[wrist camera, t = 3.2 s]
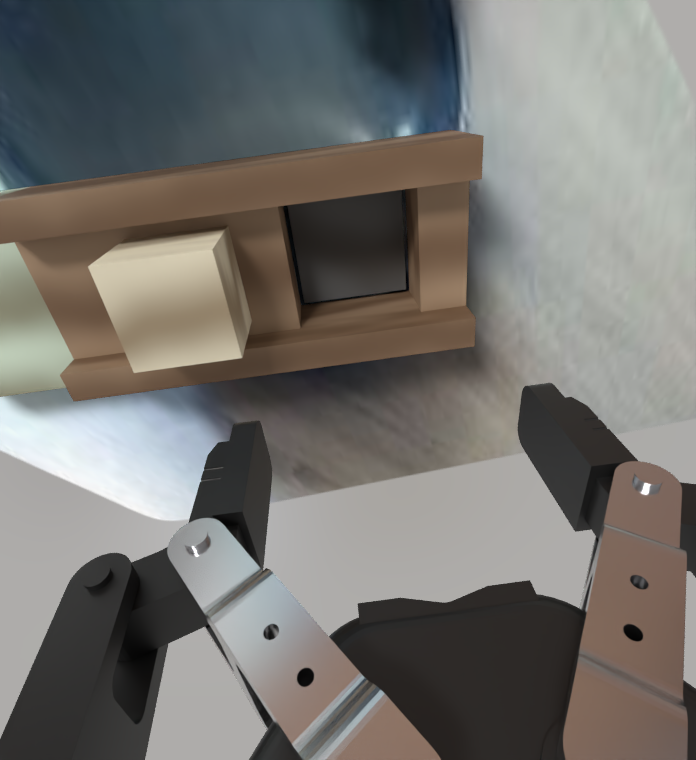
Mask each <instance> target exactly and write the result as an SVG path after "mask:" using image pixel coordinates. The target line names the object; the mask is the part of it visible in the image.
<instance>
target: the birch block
mask: <svg viewBox="0 0 696 760" xmlns="http://www.w3.org/2000/svg"><path fill="white" fill-rule="evenodd" d="M88 268H89V270H90V273H91V275H92V277H93V280H94V282H95V284H96V287H97V289H98V291H99V293H100V296H101V298H102V300H103V303H104V305H105V307H106V310H107V312H108V314H109V317H110V319H111V321H112V323H113V326H114V328H115V330H116V333H117V335H118V337H119V340H120V342H121V344H122V347H123V349H124V351H125V353H126V356H127V358H128V360H129V363H130V365H131V367H132V370H133V372H134V373H138V372H145V371H152V370H159V369H167V368H174V367H181V366H188V365H196V364H203V363H210V362H218V361H225V360H232V359H239V358H242V357H243V353H244V349H245V345H246V341H247V338H248V334H249V330H250V326H251V322H252V319H251V315H250V311H249V307H248V303H247V299H246V295H245V291H244V287H243V283H242V279H241V275H240V271H239V267H238V263H237V259H236V255H235V251H234V247H233V243H232V239H231V235H230V231H229V227H228V226H221V227H213V228H206V229H199V230H191V231H184V232H177V233H169V234H162V235H154V236H147V237H140V238H132V239H125V240H123V241H122V242H120V243H119V244H118V245H116V246H115V247H114V248H112V249H111V250H110V251H108V252H107V253H105V254H104V255H103V256H101V257H100V258H99V259H97V260H96V261H95V262H93V263H92V264H91V265H89V266H88Z"/></svg>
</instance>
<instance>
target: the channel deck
mask: <svg viewBox="0 0 696 760" xmlns="http://www.w3.org/2000/svg"><path fill="white" fill-rule="evenodd" d="M482 157H483V136H481V135H476V134H470V133H465V132H459V131H454V130H447V131H440V132H432V133H425V134H417V135H410V136H403V137H395V138H388V139H380V140H373V141H366V142H358V143H351V144H343V145H336V146H329V147H321V148H314V149H306V150H299V151H292V152H284V153H277V154H269V155H262V156H255V157H247V158H240V159H232V160H225V161H218V162H210V163H203V164H195V165H188V166H181V167H173V168H166V169H158V170H151V171H144V172H136V173H129V174H121V175H114V176H107V177H99V178H92V179H84V180H77V181H70V182H62V183H55V184H47V185H40V186H33V187H25V188H18V189H11V190H3V191H0V397H2V396H9V395H17V394H24V393H31V392H38V391H46V390H53V389H60V388H67V390H68V392H69V394H70V395H71V397H72V399H73V401H81V400H88V399H96V398H103V397H110V396H117V395H125V394H132V393H139V392H146V391H154V390H161V389H168V388H175V387H183V386H190V385H197V384H204V383H212V382H219V381H226V380H233V379H241V378H248V377H255V376H263V375H270V374H277V373H284V372H292V371H299V370H306V369H313V368H321V367H328V366H335V365H342V364H350V363H357V362H364V361H371V360H379V359H386V358H393V357H400V356H408V355H415V354H422V353H430V352H437V351H444V350H451V349H459V348H466V347H473V346H475V322H476V318H475V316H474V315H473V314H472V313H471V311H470V310H469V309H468V308H467V306H466V288H467V254H468V220H469V186H470V180H477V179H482ZM404 189H405V203H406V227H407V250H408V274H409V290H408V291H400V292H393V293H386V294H378V295H371V296H364V297H356V298H349V299H342V300H335V301H327V302H320V303H313V304H305V305H301V301H300V295H299V290H298V284H297V279H296V273H295V268H294V262H293V257H292V251H291V246H290V240H289V235H288V229H287V224H286V218H285V213H284V207H283V206H286V205H287V207H288V212H289V218H290V223H291V229H292V235H293V240H294V246H295V252H296V257H297V263H298V269H299V274H300V280H301V286H302V291H303V297H304V303H310V302H318V301H325V300H332V299H339V298H347V297H354V296H361V295H369V294H376V293H383V292H391V291H398V290H405V289H406V273H405V251H404V230H403V208H402V190H404ZM221 226H228V227H229V231H230V235H231V239H232V243H233V247H234V251H235V255H236V259H237V263H238V267H239V271H240V275H241V279H242V283H243V287H244V291H245V295H246V299H247V303H248V307H249V311H250V315H251V319H252V322H251V326H250V330H249V334H248V338H247V341H246V345H245V349H244V353H243V357H242V358H239V359H232V360H225V361H218V362H210V363H203V364H196V365H188V366H181V367H174V368H167V369H159V370H152V371H145V372H138V373H134V372H133V370H132V367H131V365H130V363H129V360H128V358H127V356H126V353H125V351H124V349H123V347H122V344H121V342H120V340H119V337H118V335H117V333H116V330H115V328H114V326H113V323H112V321H111V319H110V317H109V314H108V312H107V310H106V307H105V305H104V303H103V300H102V298H101V296H100V293H99V291H98V289H97V287H96V284H95V282H94V280H93V277H92V275H91V273H90V270H89V268H88V266H89V265H91V264H92V263H93V262H95V261H96V260H97V259H99V258H100V257H101V256H103V255H104V254H105V253H107V252H108V251H110V250H111V249H112V248H114V247H115V246H116V245H118V244H119V243H120V242H122V241H123V240H125V239H132V238H140V237H147V236H154V235H162V234H169V233H177V232H184V231H191V230H199V229H206V228H213V227H221Z"/></svg>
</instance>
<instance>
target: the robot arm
mask: <svg viewBox="0 0 696 760" xmlns="http://www.w3.org/2000/svg"><path fill="white" fill-rule="evenodd" d="M518 436H519V440H520V443H521V445H522V447H523V449H524V450H525V452H526V454H527V455H528V457H529V458H530V460H531V461H532V463H533V465H534V466H535V468H536V470H537V471H538V473H539V474H540V476H541V477H542V479H543V481H544V482H545V484H546V485H547V487H548V489H549V490H550V492H551V493H552V495H553V497H554V498H555V500H556V501H557V503H558V505H559V506H560V508H561V509H562V511H563V513H564V514H565V516H566V518H567V519H568V520H569V522H570V524H571V526H572V527H573V529H574V530H575V531H583V530H590V529H592V531H593V532H594V534H595V535H596V538H595V542H594V545H593V550H592V554H591V559H590V563H589V568H588V572H587V577H586V581H585V586H584V591H583V595H582V599H581V603H580V607H579V608H577V607H575V606H573V605H571V604H569V603H567V602H564V601H561V600H558V599H555V598H552V597H548V596H544V595H537V594H536V593H535V590H534V588H533V586H532V584H531V582H530V581H522V582H515V583H507V584H499V585H492V586H487V587H485V588H482V589H480V590H477V591H475V592H473V593H470V594H468V595H465V596H463V597H461V598H458V599H456V600H454V601H451V602H447V603H440V602H431V601H423V600H414V599H405V598H396V599H389V600H381V601H373V602H366V603H359V604H358V611H359V618H356V619H354V620H352V621H350V622H348V623H347V624H345V625H343V626H341V627H340V628H339V629H337V630H336V631H335V632H334V633H332V634H331V635H330V636H328V635H327V634H326V633H325V632H324V631H323V630H322V628H321V627H320V626H319V625H318V624H317V622H316V621H315V620H314V619H313V618H312V617H311V616H310V614H309V613H308V612H307V611H306V610H305V609H304V607H303V606H302V605H301V604H300V603H299V602H298V601H297V600H296V598H295V597H294V596H293V595H292V594H291V593H290V591H289V590H288V589H287V588H286V587H285V586H284V585H283V583H282V582H281V581H280V580H279V579H278V578H277V577H276V575H275V574H274V573H273V572H272V571H271V570H269V569H267V568H266V569H265V570H264V571H263V565H264V555H265V544H266V534H267V523H268V514H269V504H270V493H271V483H272V467H271V461H270V456H269V452H268V449H267V445H266V441H265V437H264V434H263V430H262V426H261V423H260V421H251V422H243V423H236V424H234V425H233V428H232V432H231V437H230V441H227V442H219V443H217V445H216V446H215V447H214V448H213V450H212V451H211V452H210V453H209V454H208V457H207V460H206V464H205V467H204V471H203V474H202V478H201V482H200V485H199V488H198V492H197V495H196V499H195V502H194V506H193V509H192V513H191V516H190V520H189V523H188V524H186V525H184V526H183V527H181V528H180V529H179V530H178V531H177V532H176V533H175V534H174V535H173V537H172V538H171V540H170V542H169V545H168V547H167V548H165V549H163V550H161V551H159V552H157V553H154V554H152V555H149V556H147V557H144V558H142V559H140V560H137V561H134V562H132V563H131V562H130V560H129V558H128V557H127V556H125V555H123V554H119V553H109V554H105V555H102V556H99V557H97V558H95V559H93V560H91V561H90V562H88V563H87V564H85V565H84V566H83V567H81V568H80V569H79V570H78V571H77V573H75V575H74V576H73V577H72V579H71V580H70V582H69V584H68V586H67V588H66V590H65V592H64V595H63V597H62V599H61V602H60V604H59V606H58V608H57V611H56V613H55V615H54V618H53V620H52V622H51V624H50V627H49V629H48V631H47V634H46V636H45V638H44V640H43V643H42V645H41V647H40V650H39V652H38V654H37V656H36V659H35V661H34V663H33V665H32V668H31V670H30V672H29V675H28V677H27V680H26V682H25V684H24V686H23V688H22V691H21V693H20V695H19V697H18V700H17V702H16V705H15V707H14V709H13V711H12V714H11V716H10V718H9V720H8V723H7V725H6V727H5V730H4V732H3V734H2V736H1V739H0V760H145V756H146V752H147V747H148V741H149V736H150V731H151V727H152V722H153V717H154V712H155V707H156V702H157V697H158V692H159V687H160V682H161V677H162V672H163V667H164V662H165V657H166V652H167V648H168V643H170V642H172V641H175V640H177V639H179V638H181V637H183V636H185V635H188V634H190V633H192V632H194V631H196V630H198V629H200V628H202V627H204V628H205V629H206V631H207V632H208V634H209V636H210V637H211V639H212V641H213V642H214V643H215V645H216V647H217V649H218V650H219V652H220V653H221V655H222V657H223V658H224V660H225V661H226V663H227V665H228V666H229V668H230V669H231V671H232V672H233V674H234V676H235V677H236V679H237V680H238V682H239V684H240V686H241V687H242V689H243V691H244V693H245V694H246V697H247V698H248V700H249V702H250V704H251V705H252V707H253V709H254V710H255V712H256V713H257V715H258V717H259V718H260V720H261V722H262V723H263V725H264V727H265V728H266V730H267V731H266V733H265V735H264V736H263V738H262V739H261V741H260V743H259V744H258V746H257V747H256V749H255V751H254V752H253V754H252V756H251V757H250V759H249V760H696V689H695V688H694V687H692V686H691V685H690V684H688V683H687V682H685V681H684V680H683V671H684V639H685V606H686V605H685V604H686V574H687V571H691V572H692V573H693V575H694V576H695V577H696V484H688V483H680V482H679V481H678V479H677V478H676V477H675V476H673V475H672V474H671V473H670V472H668V471H667V470H665V469H663V468H661V467H659V466H657V465H654V464H651V463H647V462H640V461H638V460H637V459H636V458H635V457H634V456H633V455H632V454H631V453H630V452H629V450H628V449H627V448H626V447H625V446H624V445H623V444H622V443H621V442H620V441H619V440H618V439H617V437H616V436H615V435H614V434H613V433H612V432H611V431H610V430H609V429H607V427H606V426H605V424H604V423H603V422H602V421H601V420H598V417H597V416H596V415H595V414H594V413H593V412H592V410H591V409H590V408H589V407H588V406H586V405H585V404H583V403H581V402H579V401H578V400H576V399H574V398H572V397H567V398H565V397H564V396H563V395H562V394H561V393H560V392H559V390H558V389H557V388H556V387H555V386H554V385H553V384H552V383H546V384H538V385H531V386H525V387H524V388H523V391H522V396H521V405H520V413H519V421H518Z"/></svg>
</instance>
